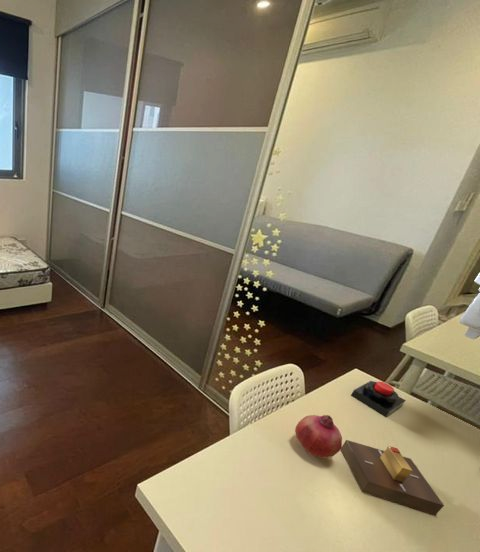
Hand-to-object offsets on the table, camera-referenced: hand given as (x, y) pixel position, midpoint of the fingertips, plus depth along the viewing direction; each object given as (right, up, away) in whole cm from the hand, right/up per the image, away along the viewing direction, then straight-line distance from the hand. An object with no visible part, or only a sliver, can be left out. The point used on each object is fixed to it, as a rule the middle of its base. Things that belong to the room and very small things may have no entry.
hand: (471, 336), depth 73 cm
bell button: (-8, -17, +13) cm, 23 cm away
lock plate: (-27, -28, -7) cm, 39 cm away
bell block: (-8, -21, +15) cm, 27 cm away
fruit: (-38, -25, -2) cm, 46 cm away
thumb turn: (-26, -25, -8) cm, 37 cm away
